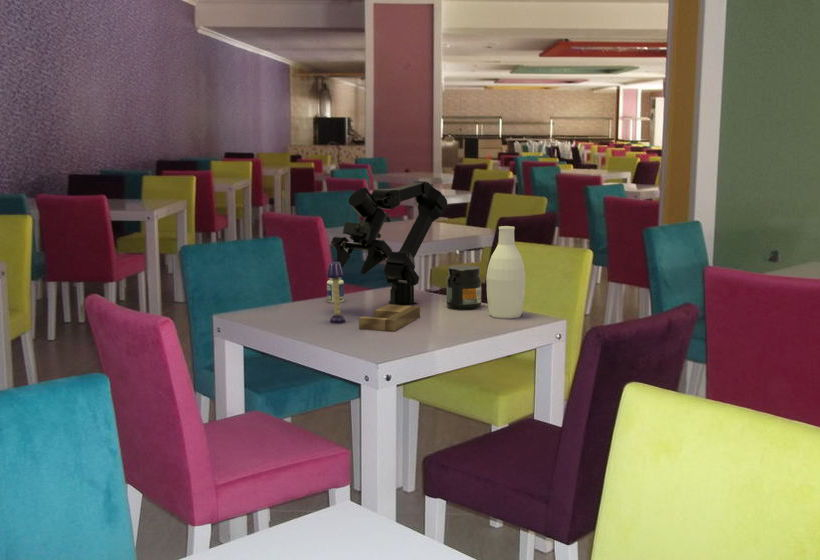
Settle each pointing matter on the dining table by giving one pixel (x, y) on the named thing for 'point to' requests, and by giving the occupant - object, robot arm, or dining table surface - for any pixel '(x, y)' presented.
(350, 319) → the dining table surface
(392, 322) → the notched board
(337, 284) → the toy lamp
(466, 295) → the supplement container
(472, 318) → the dining table surface
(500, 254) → the bottle
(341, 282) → the pill bottle
